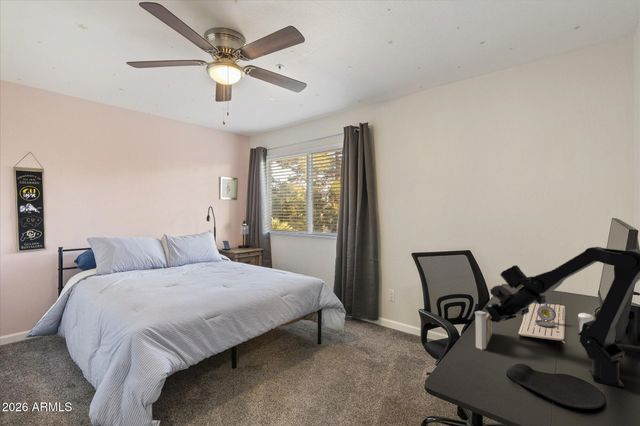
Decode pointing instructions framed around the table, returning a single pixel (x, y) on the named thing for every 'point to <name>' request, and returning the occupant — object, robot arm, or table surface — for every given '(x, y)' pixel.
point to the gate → (488, 327)
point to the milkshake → (584, 319)
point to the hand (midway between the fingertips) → (492, 320)
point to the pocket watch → (546, 311)
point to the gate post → (480, 329)
